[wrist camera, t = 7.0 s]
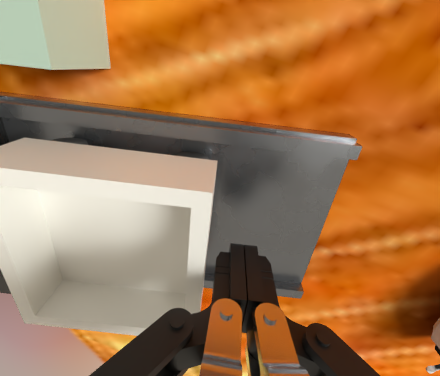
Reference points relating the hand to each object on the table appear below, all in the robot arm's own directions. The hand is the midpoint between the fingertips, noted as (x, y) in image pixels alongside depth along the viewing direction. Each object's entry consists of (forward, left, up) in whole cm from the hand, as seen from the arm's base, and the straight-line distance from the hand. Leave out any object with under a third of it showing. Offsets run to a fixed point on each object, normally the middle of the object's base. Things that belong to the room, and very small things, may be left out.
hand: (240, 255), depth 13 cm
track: (0, -5, -4) cm, 7 cm away
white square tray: (0, -7, -3) cm, 8 cm away
